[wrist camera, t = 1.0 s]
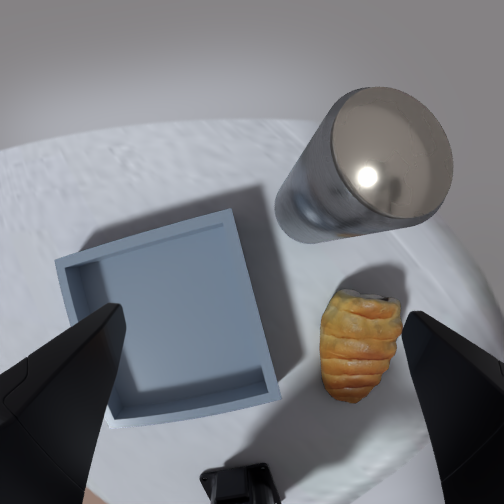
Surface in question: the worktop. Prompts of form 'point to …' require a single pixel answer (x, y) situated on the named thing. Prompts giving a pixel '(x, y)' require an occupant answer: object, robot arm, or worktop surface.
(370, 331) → the pastry
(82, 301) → the bin
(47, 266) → the worktop surface
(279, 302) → the worktop surface
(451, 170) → the canister
